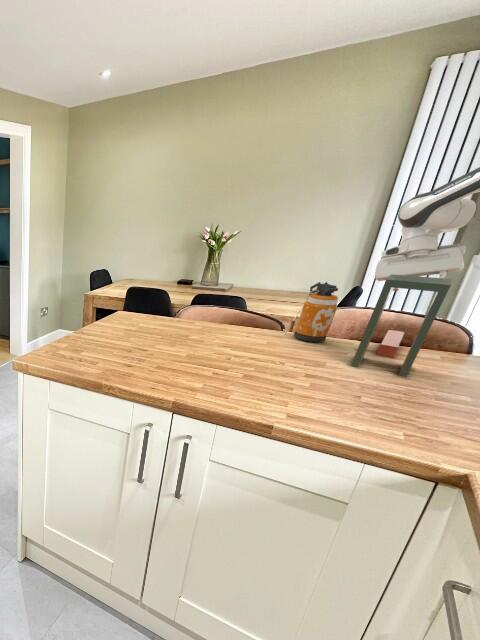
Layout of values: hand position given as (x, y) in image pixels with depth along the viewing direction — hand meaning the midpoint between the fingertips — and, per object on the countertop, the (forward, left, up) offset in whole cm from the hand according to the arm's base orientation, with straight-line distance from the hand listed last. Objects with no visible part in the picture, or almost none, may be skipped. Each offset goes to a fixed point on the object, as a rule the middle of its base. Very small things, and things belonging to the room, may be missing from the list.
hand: (415, 288), depth 136 cm
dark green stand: (+13, +36, -18) cm, 42 cm away
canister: (+27, +13, -18) cm, 35 cm away
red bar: (+5, +15, -18) cm, 24 cm away
